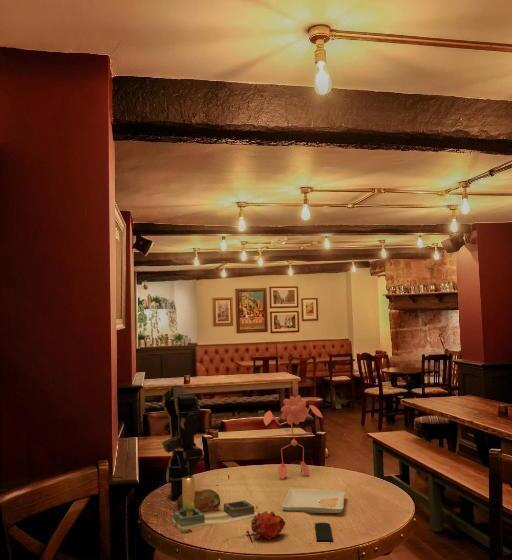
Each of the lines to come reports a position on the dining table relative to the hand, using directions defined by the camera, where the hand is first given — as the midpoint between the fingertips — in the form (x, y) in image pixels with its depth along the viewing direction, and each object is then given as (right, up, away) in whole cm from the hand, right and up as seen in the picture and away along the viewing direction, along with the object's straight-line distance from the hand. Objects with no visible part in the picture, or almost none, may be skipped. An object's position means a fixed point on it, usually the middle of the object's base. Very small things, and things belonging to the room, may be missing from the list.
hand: (186, 473), depth 205 cm
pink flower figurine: (+42, -15, +37) cm, 58 cm away
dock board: (+12, -12, -12) cm, 21 cm away
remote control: (+46, -11, -27) cm, 54 cm away
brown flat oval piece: (+5, -13, -6) cm, 15 cm away
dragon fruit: (+29, -10, -29) cm, 42 cm away
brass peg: (+3, -11, -15) cm, 19 cm away
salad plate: (+46, -13, +1) cm, 48 cm away
